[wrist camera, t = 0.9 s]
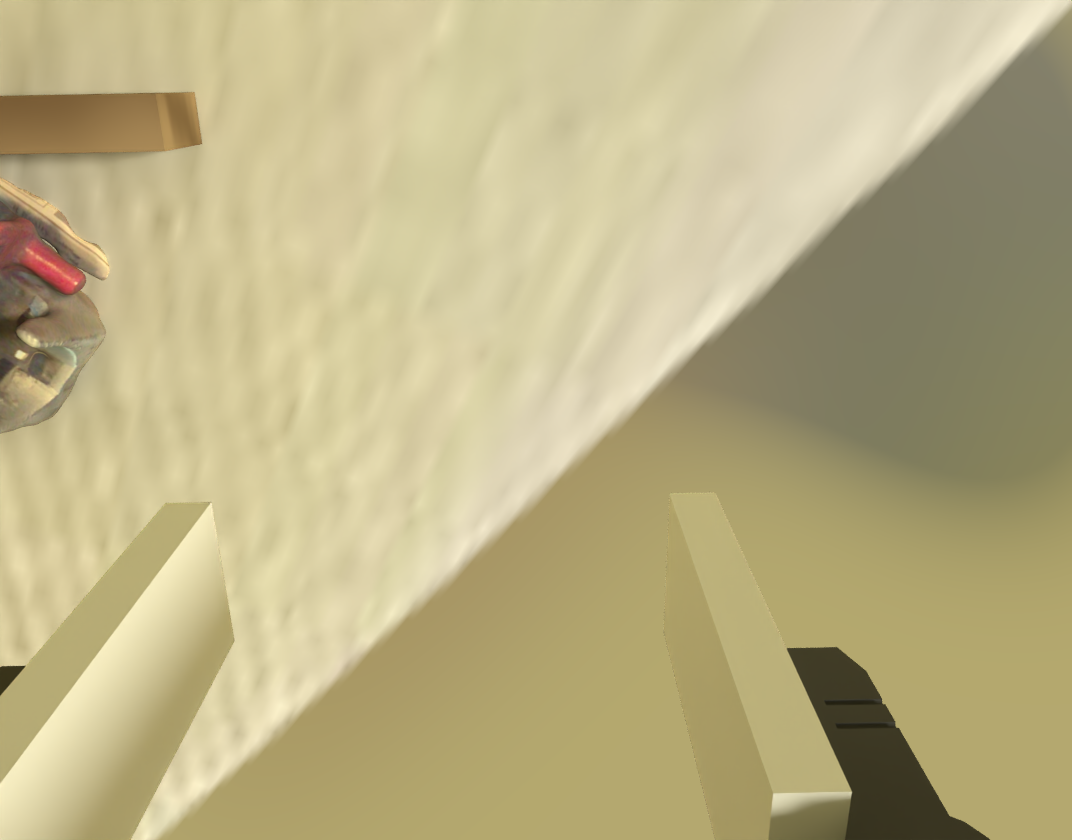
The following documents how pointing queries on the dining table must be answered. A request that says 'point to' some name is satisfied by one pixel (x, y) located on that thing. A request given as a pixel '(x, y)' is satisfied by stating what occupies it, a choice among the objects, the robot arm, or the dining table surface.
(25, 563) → the dining table surface
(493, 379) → the dining table surface
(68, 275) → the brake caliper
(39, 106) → the brown wooden bar frame
